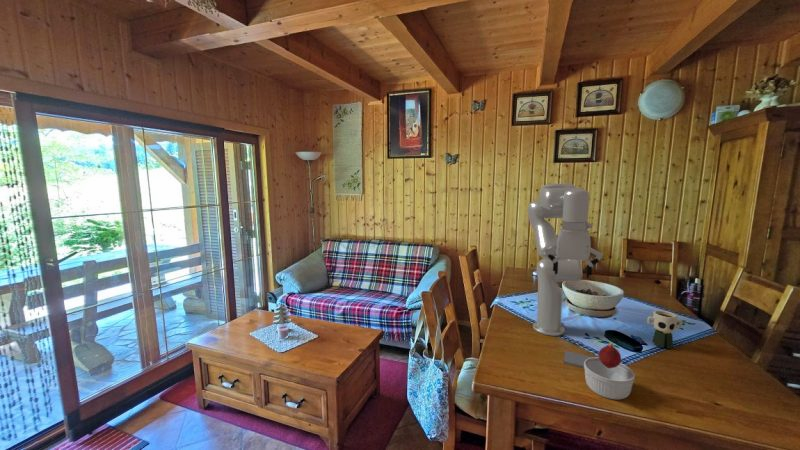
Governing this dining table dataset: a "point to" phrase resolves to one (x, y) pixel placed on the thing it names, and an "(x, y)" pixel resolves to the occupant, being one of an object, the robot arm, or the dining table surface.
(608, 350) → the onion
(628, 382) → the ramekin
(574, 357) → the coaster
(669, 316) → the character mug
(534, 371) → the dining table surface
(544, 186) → the robot arm
